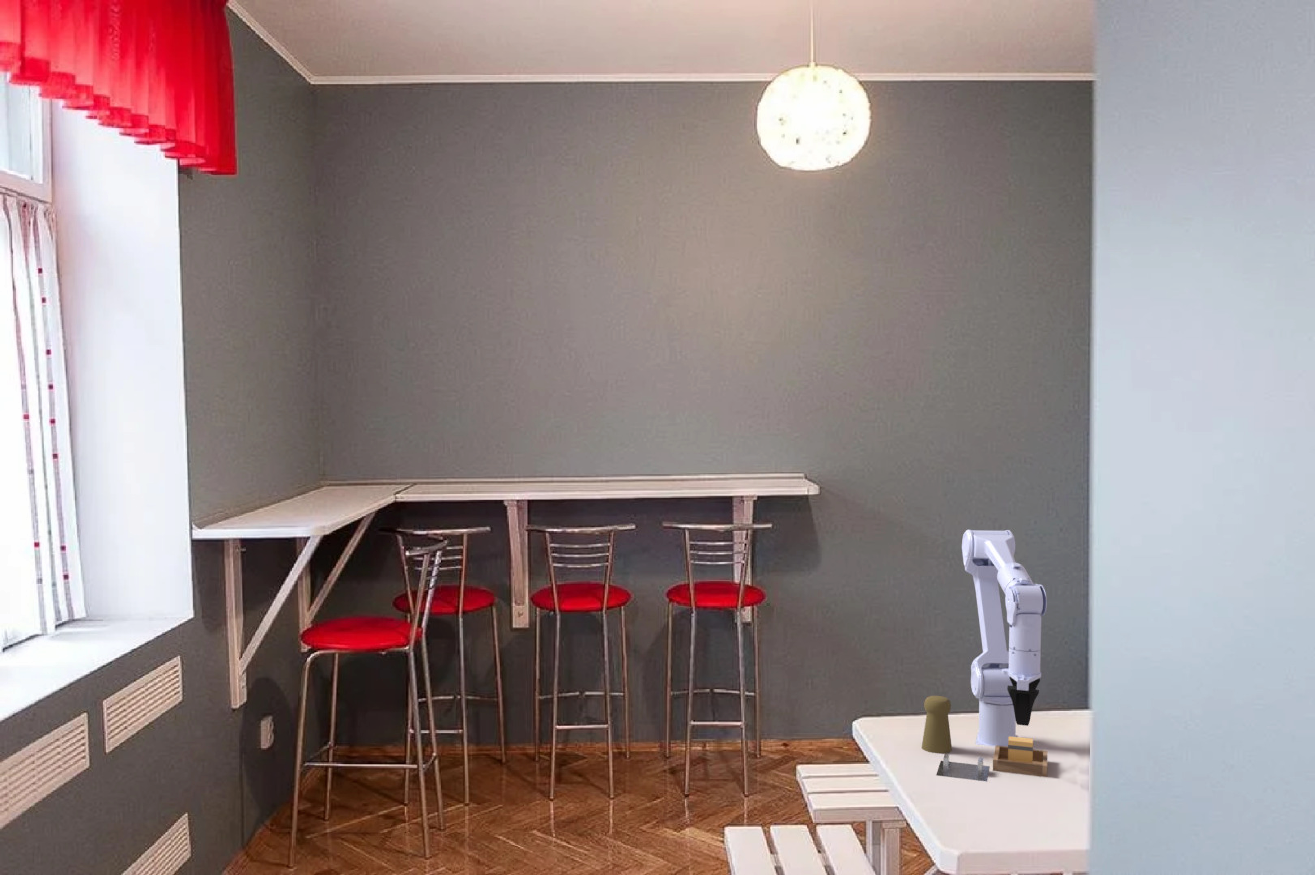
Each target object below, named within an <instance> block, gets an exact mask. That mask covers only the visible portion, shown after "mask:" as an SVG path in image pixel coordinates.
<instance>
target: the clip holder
mask: <svg viewBox="0 0 1315 875" xmlns="http://www.w3.org/2000/svg"><path fill="white" fill-rule="evenodd" d="M989 770H990V766H989V765H984V757H978V760H977V764H973V763H965V762H957V761H950V754H949V753H944V755H943V759H942V760H940V763H939V765H938V769H937V772H936V774H935V776H937V777H938V776H939V777H945V778H946V777H947V778H955V779H964V780H971V781H978V782H979V781H980V782H988V777H989Z"/></svg>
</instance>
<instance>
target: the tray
mask: <svg viewBox="0 0 1315 875" xmlns="http://www.w3.org/2000/svg"><path fill="white" fill-rule="evenodd" d="M994 747H995V748H994V751H993V757H992V772H993V771H994V772H999V773H1000V772H1001V773H1009V774H1016V775H1017V774H1018V775H1019V774H1020V775H1025V776H1026V775H1028V776H1034V777H1035V776H1036V777H1043V778H1044V777H1045V778H1047V777H1048V750H1042V749H1041V750H1040V749H1034V748H1033V763H1028V762H1019V761H1010V760H1008V747H1007V746H997V745H996V746H994Z"/></svg>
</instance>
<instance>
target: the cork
mask: <svg viewBox="0 0 1315 875" xmlns="http://www.w3.org/2000/svg"><path fill="white" fill-rule="evenodd" d="M923 705H924V706H923V707H924V710H925V712H926V717H925V722H924V730H923V736H922V738H923V739H922V743H921V749H922V750H923V751H925V752H928V753H932V754H945V753H946V754H949V753H951V752H952V751H953V748H952V747H953V746H952V738H951V730H950V719H949V714H950V712H951V709H952V704H951V701H950V699H949V698H948V697H945V696H942V695H941V696H940V695H929V696H928V697H926V698H925V700H924V703H923Z"/></svg>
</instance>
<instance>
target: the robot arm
mask: <svg viewBox="0 0 1315 875" xmlns="http://www.w3.org/2000/svg"><path fill="white" fill-rule="evenodd" d="M961 541H962V543H961V553H962V560H963V561H962V562H963V565H964V571H965V572H967V573H968V574H970V575H972V579H973V584H974V589H975V597H976V605H977V614H978V620H979V621H978V622H979V630H980V638H981V639H980V640H981V645H982V646H981V647H982V653H980V654H979V655H978V656H977V657H975V658H974V659H973V661H972V662H971V665H970V672H971V674H970V686H971V693H973V696H975V698H976V699H978V702H979V703H978V705H979V706H978V732H977V734H976V735H977V736H976V740H975V745H980V746H988V747H995V746H996V745H997V746H1007V747H1008V739H1009V736H1010V737H1019V736H1018V735H1017V734H1016V727H1017V726H1025V727H1026V726H1027V727H1028V726H1029V725H1030V721H1031V716H1032V711H1033V706H1034V704H1035V701H1036V699H1037V697H1038V696H1039V693H1040V690H1039V689H1037V688H1038V686H1039V684H1040V682H1041V677H1042V672H1041V647H1042V646H1041V645H1042V644H1041V642H1042V616H1044V615H1045V614H1046V612H1047V608H1048V607H1047V606H1048V600H1047V593H1046V590H1045V587H1044V586H1043V584H1038V583H1034V582H1033V580H1032V579H1031V577H1030V575H1029V574H1028V572H1027V570H1026V568H1025V567H1024V565H1022V564H1020V563H1018V562H1016V560H1015V557H1014V555H1015V552H1016V540H1015V535H1014V534H1013V533H1012V531H1011V530H1010V529H1006V530H980V529H979V530H973V529H966V530H965V532H964V533H963V535H962V540H961ZM999 586H1000V588H1001V589H1002V592H1003V593H1004V595H1005V598H1004V601H1005V609H1006V621H1007V623H1008V624H1009V630H1008V637H1009V638H1008V649H1007V641H1006V633H1005V626H1004V619H1003V618H1004V617H1003V610H1002V604H1001V603H1002V602H1001V596H1000V588H999Z"/></svg>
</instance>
